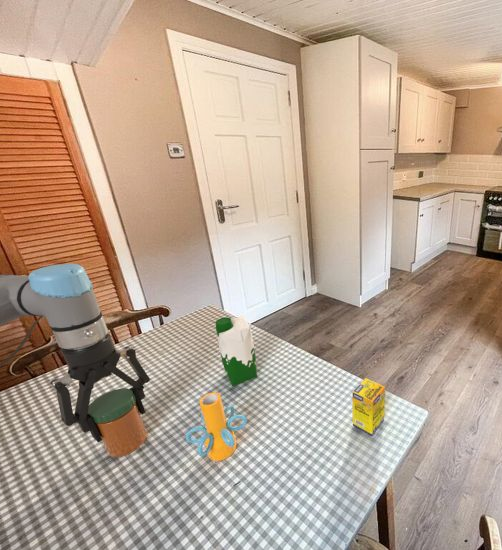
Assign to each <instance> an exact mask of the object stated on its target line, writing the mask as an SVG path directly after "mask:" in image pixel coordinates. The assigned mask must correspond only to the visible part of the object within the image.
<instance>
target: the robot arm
mask: <svg viewBox="0 0 502 550" xmlns="http://www.w3.org/2000/svg"><path fill="white" fill-rule="evenodd" d="M22 317H37V319H36V320H35V321H34V322H33V324H32V325H31V327H30V329H28V332H27V333H26V335H25V337H24V338H23V340H22V342H20V344H19V345H18V346H17V348H16V349H15V350H14V351H13V352H12V353H11V354H10V355H8V357H6V359H4V360H3V361H2V362H0V368H1V367H3V366H4V365H5V364H6V363H8V362H9V361H10V360H11V359H12V358H14V356H15V355H16V354H17V353H18V352H19V351H20V350H21V349H22V348H23V346H24V345H25V343H26V342H27V341H28V339H29V337H30V336H31V333H32V332H33V330H34V328H35V327H36V325H37V324H38V323H39V321H40V320H41V319H42V318H43V317H45V319H46V321H47V323H48V324H49V328H50V329H51V332H52V333H53V336H54V338H55V341H56V343H57V346H58V347H59V348H61V349H60V352H61V354H62V356H63V358H64V361H65V362H66V363H65V364H67V367H68V370H67V374H64V375H63V376H62V377H60V378H59V379H58V378H52V380H51V381H50V385H51V386H52V387H53V389H55V391H56V397H57V403H58V409H59V414H60V419H61V422H63V424H65V426H66V427H71V426H73V425H74V424H76V423H77V424H78V426H79V428H80V430H81V431H82V432H83V433H84V434H87V433H89V432H90V435H91V436H92V438H93V439H94V440H95V441H96V442H97V443H100V442H102V438H101V436H100V434H99V431H98V429H97V427H96V425H95V423H94V420H93V418H92V417H91V416H90V415H89V414H88V408H89V405H90V403H91V396H92V391H93V389H94V386H95V384H96V383H98V382H99V381H101V380H102V379H105V378H107V377H110V376H111V375H112V374H113V375H115V376H116V377H117V378H119V379H121V381H123V382H125V383H126V384H128V385H129V386H131V387H130V388H129V389H130V390H132V391H133V394H134V395H135V398H136V405H137V407H138V410H139V413H140V415H144V414H146V413H147V412H146V410H145V405H144V404H143V401H142V400H144V399H145V398H146V393H145V392H144V389H145V386H144V385H145V384H147V383H149V382H150V381H151V378H150V377H149V375H148V374H147V372H146V371H145V369H144V368H143V366H142V364H141V363H140V361H139V360H138V358H137V353H136V349H134V348H132V347H131V346H129V345H127V346H125V347H124V348H123V349H120V350H117V349H116V347H115V345H114V342H113V338H112V336H111V334H110V333H109V329H108V326H107V324H106V321H105V319H104V316H103V313H102V310H101V307H100V305H99V302H98V299H97V296H96V294H95V291H94V287H93V282H92V281H90V278H89V276H88V274H87V271H86V269H85V268H84V267H83V266H82V265H80V264H77V263H63V264H52V265H47V266H43V267H40V268H36V269H35V270H33V271H31V272H30V273H29V274H28V275H18V274H17V275H16V274H0V327H2V326H4V325H6V324H8V323H11V322H13V321H15V320H18V319H19V318H22ZM121 357H122V358H123V359H125V360H126V361H127V363H128V365H129V366H130V367H131V369H132V370H133V372H134V373H135V375H136V376H137V379H134V378H133V377H132V376H129V375H128V374H127V373H125V372H124V371H122V370H121V369H120V368H118V367H117V365H118V363H119V362H120V358H121ZM72 380H76V381H78V391H77V397H76V403H75V409H74V410H73V404H72V399H71V392H70V390H69V388H70V386H71V381H72Z"/></svg>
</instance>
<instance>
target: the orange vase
mask: <svg viewBox="0 0 502 550" xmlns="http://www.w3.org/2000/svg"><path fill="white" fill-rule="evenodd" d="M223 405H224V404H223V401H222V397H221V394H220V393H219V392H209V393H207V394H204V395H203V396H202V397H201V398H200V400H199V406H200V411H201V413H200V420H201V422H202V423H203V426H201V425H199V426H195V427H192V428H190V429H189V430H188V431H187V432H186V435H185V439H186V442H188V443H190V444H198V446H197V453H198V455H199V456H200V457H205V456H206V455H207V456H208V458H209V459H210V460H211V461H214V462H221V461H224V460H226V459H228V458H229V457H230V456H232V455H233V453H234V452H235V451H236V448H237V440H236V434H235V432H237V431H240V430H242V429H243V428H244V427H245V426H246V425H247V421H248V420H247V417H246V416H245V415H243V414H235V413H236V412H235V411H236V410H235V406H234V404H228V405H227V406H226V407H225V408H224V406H223ZM229 410H230V415H229V417H228V419H227V418H226V417H227V414H228V411H229ZM237 419H241V420H242V423H241V424H240V425H239V426H232V425H231V423H232V421H235V420H237ZM196 431H200V432H201V431H202V432H203V435H202V437H200V438H197V439H196V438H192V437H191V435H192V434H193V433H194V432H196ZM204 446H205V448H206V449H205V450H204V451H203V447H204Z"/></svg>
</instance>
